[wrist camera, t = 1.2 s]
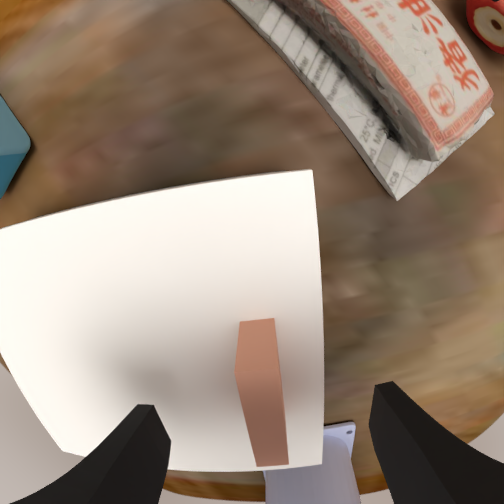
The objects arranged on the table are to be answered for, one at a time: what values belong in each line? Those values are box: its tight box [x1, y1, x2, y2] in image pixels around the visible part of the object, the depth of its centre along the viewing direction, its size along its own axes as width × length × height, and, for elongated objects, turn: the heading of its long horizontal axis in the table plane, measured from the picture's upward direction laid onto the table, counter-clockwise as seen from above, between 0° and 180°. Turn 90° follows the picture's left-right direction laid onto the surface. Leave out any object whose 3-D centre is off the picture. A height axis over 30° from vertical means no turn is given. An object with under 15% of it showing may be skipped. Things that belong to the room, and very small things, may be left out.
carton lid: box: [0, 169, 324, 472], centre depth 11 cm, size 15×17×3 cm
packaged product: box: [227, 0, 495, 201], centre depth 11 cm, size 18×5×10 cm
